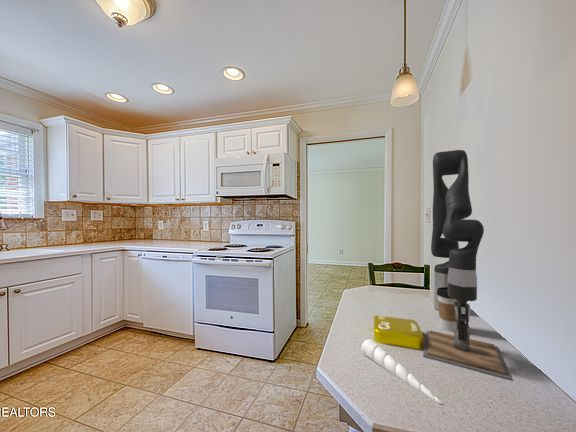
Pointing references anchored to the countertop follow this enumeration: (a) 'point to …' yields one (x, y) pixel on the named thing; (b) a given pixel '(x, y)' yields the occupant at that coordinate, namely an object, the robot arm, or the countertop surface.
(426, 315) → the countertop surface
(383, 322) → the element tile
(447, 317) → the coffee cup
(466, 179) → the robot arm
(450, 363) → the rubber mat
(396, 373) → the unicorn horn
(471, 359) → the walnut lid
